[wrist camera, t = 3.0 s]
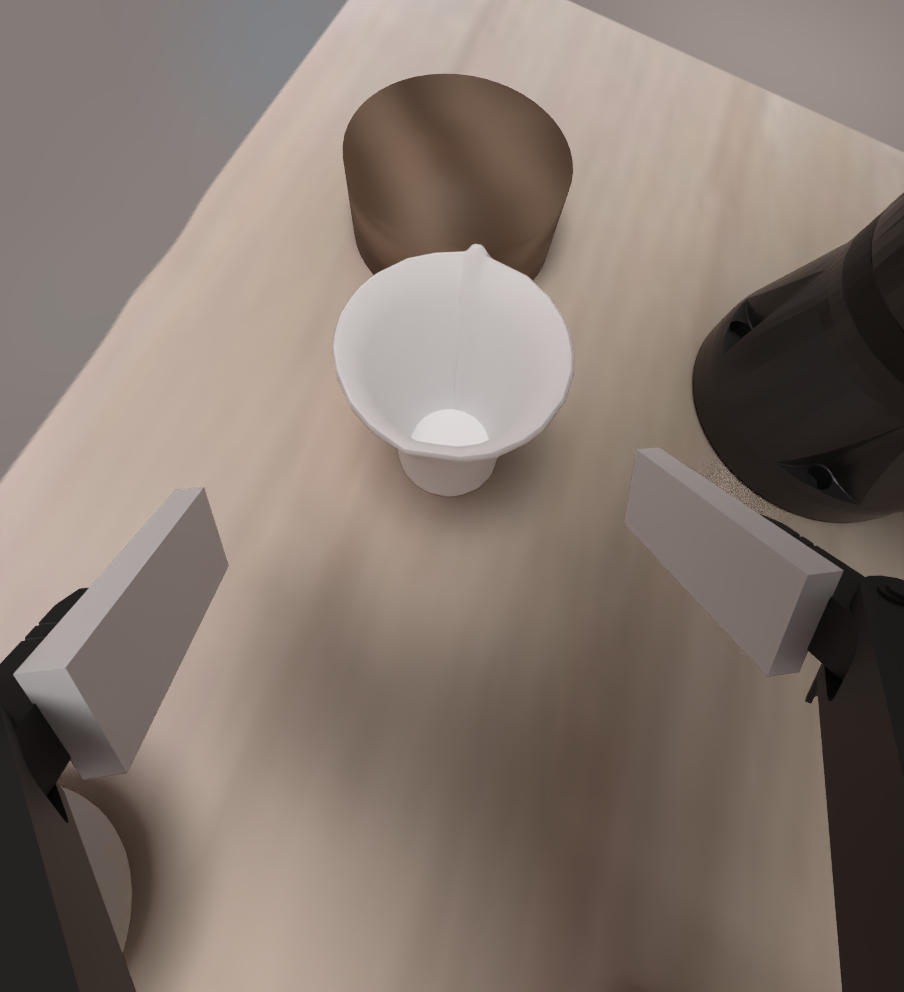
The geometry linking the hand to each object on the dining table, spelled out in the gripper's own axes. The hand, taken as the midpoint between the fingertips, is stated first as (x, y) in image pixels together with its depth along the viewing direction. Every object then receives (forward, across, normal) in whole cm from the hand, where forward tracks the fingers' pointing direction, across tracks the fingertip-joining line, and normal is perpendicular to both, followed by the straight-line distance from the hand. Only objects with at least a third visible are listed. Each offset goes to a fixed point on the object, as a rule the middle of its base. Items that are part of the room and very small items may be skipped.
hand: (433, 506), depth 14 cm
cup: (+12, +2, -3) cm, 12 cm away
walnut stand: (+23, +4, +8) cm, 24 cm away
